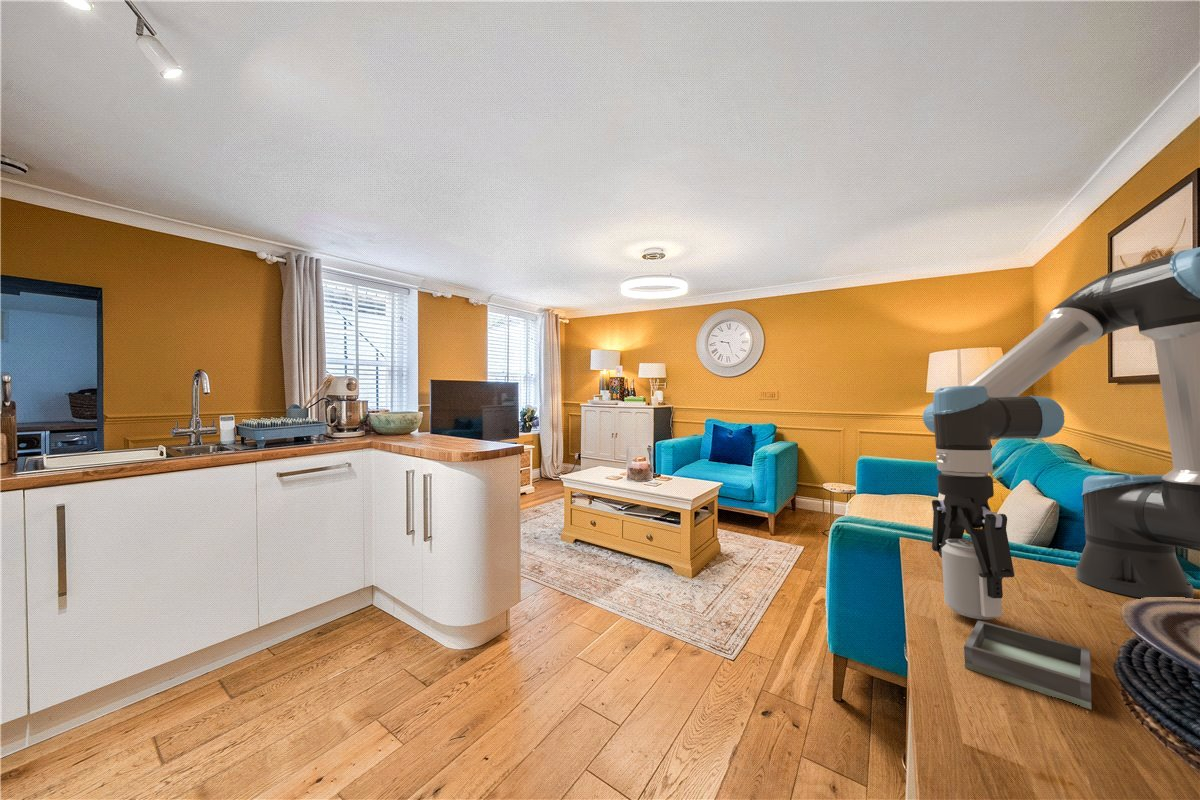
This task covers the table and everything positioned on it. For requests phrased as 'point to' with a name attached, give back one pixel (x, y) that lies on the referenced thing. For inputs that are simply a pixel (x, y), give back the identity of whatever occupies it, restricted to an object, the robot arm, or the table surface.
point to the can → (962, 578)
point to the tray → (1030, 662)
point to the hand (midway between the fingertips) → (971, 605)
